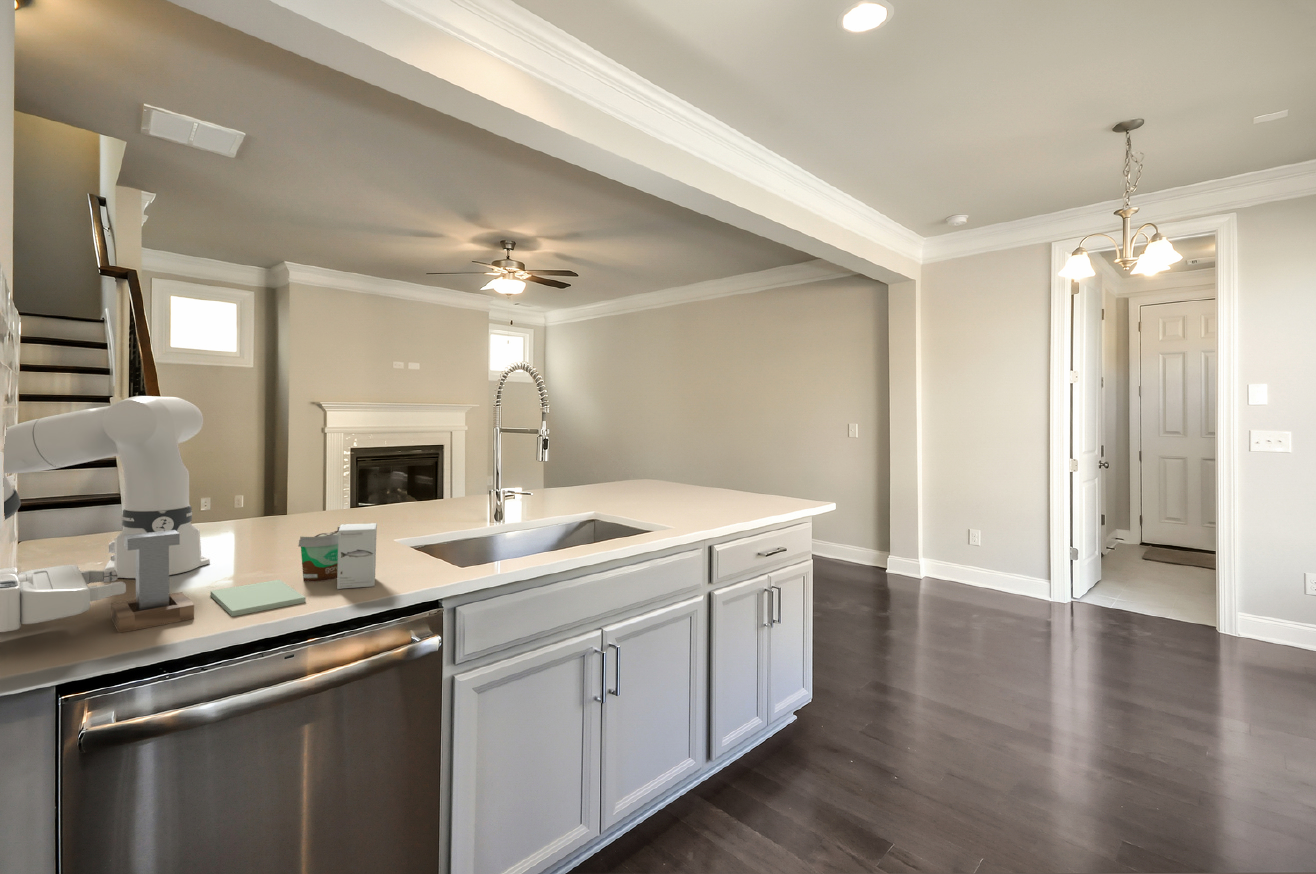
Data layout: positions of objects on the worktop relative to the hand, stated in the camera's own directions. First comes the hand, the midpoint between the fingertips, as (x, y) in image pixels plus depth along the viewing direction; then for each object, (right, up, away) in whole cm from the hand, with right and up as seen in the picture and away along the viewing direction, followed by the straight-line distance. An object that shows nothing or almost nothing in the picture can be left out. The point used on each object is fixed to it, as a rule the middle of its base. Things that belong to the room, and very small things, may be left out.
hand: (121, 580), depth 103 cm
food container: (+19, -7, +32) cm, 38 cm away
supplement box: (+27, -7, +28) cm, 39 cm away
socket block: (+2, -8, +4) cm, 9 cm away
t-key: (+2, -8, +4) cm, 9 cm away
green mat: (+13, -7, +16) cm, 22 cm away
